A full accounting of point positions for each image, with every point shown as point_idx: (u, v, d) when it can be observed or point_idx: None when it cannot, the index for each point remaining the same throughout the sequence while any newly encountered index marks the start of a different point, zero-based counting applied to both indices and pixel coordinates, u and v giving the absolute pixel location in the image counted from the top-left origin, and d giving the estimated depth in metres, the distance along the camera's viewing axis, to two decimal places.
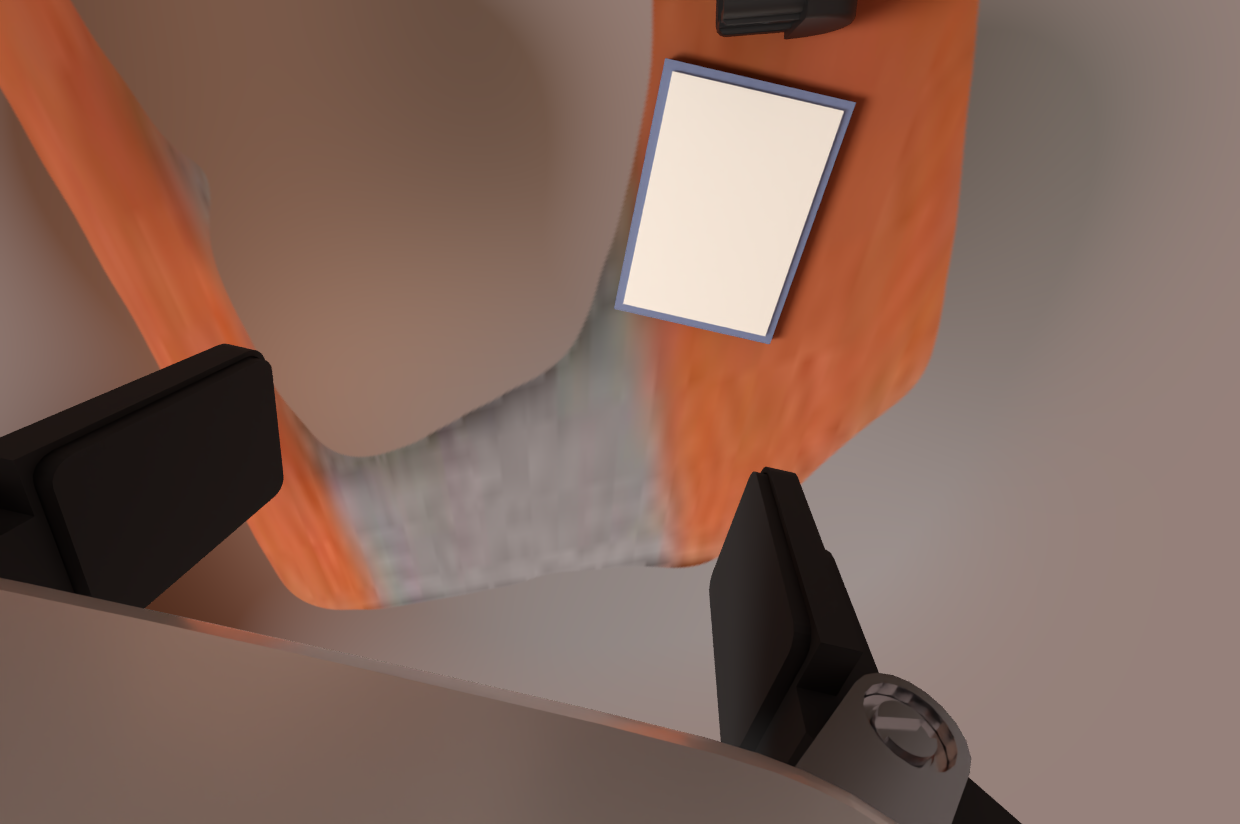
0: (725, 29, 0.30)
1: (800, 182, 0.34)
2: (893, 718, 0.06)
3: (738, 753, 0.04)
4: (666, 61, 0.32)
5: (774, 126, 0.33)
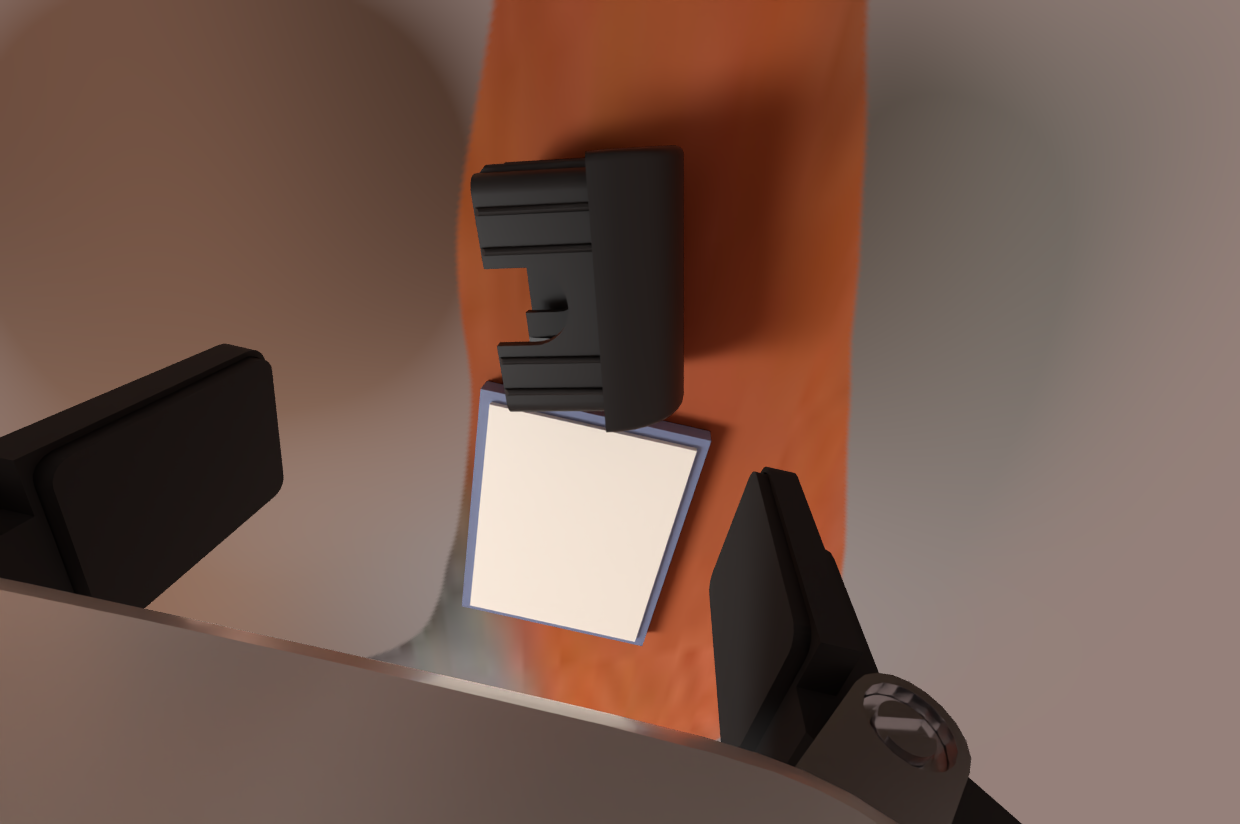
0: None
1: (655, 512, 0.29)
2: (893, 718, 0.06)
3: (738, 753, 0.04)
4: (482, 392, 0.27)
5: (617, 460, 0.27)
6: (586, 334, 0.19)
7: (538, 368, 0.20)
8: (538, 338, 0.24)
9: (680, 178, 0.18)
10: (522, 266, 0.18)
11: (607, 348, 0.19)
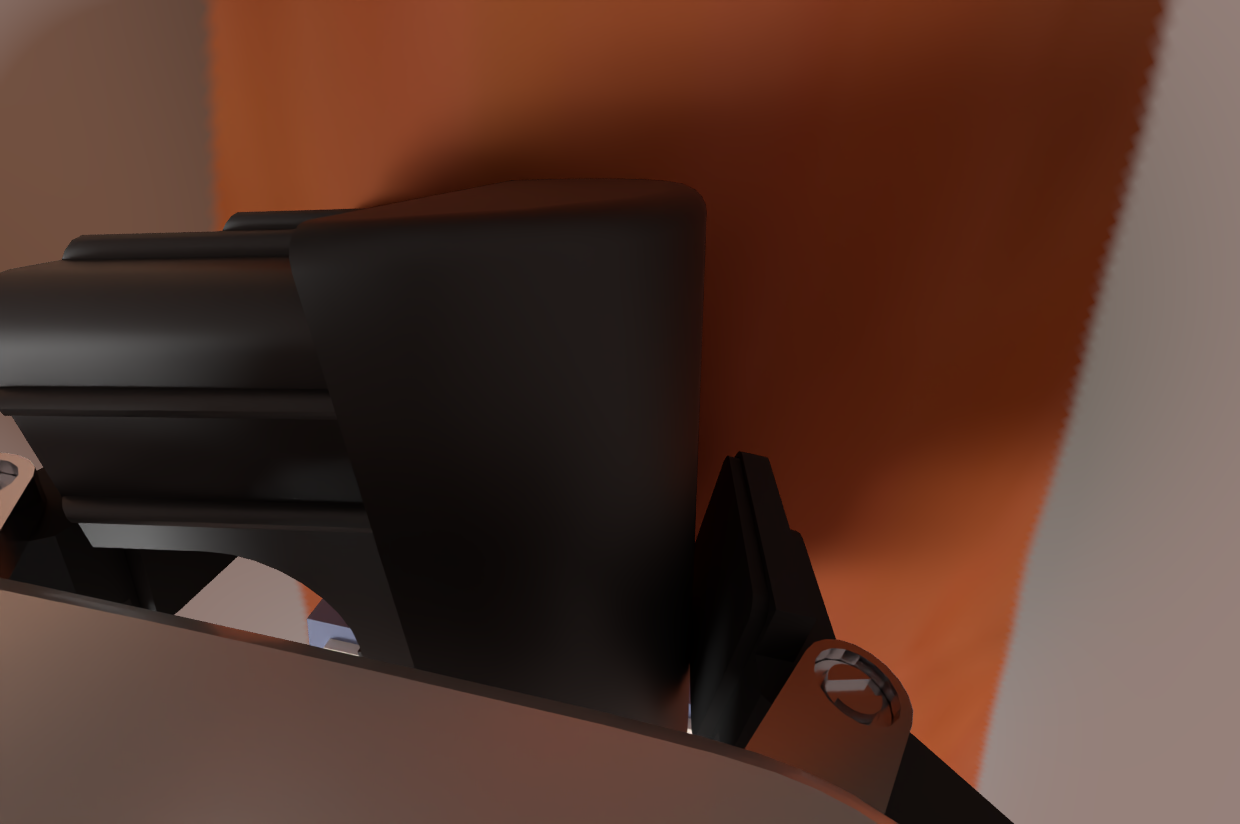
0: None
1: None
2: (841, 680, 0.06)
3: (738, 753, 0.04)
4: (311, 623, 0.14)
5: None
6: None
7: None
8: None
9: (696, 291, 0.06)
10: (202, 548, 0.06)
11: None
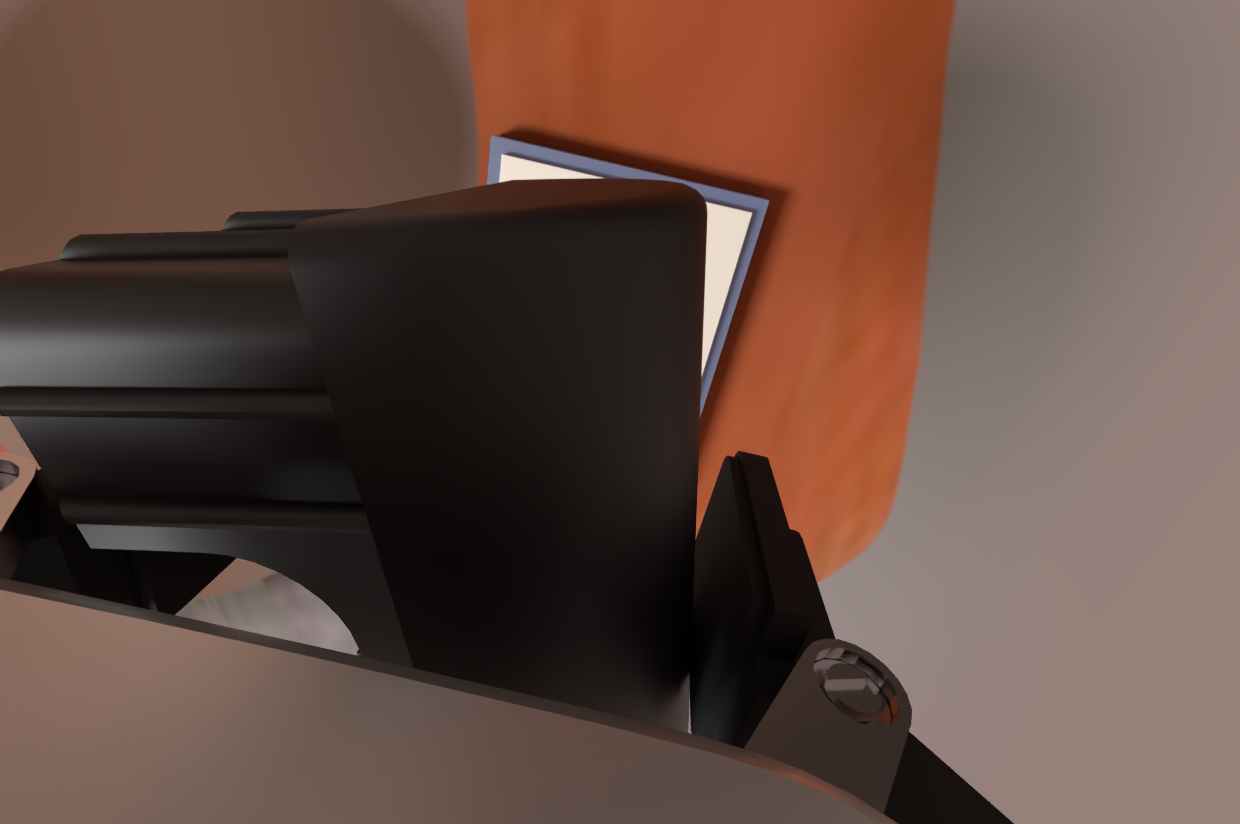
0: None
1: None
2: (841, 680, 0.06)
3: (738, 753, 0.04)
4: (493, 139, 0.22)
5: None
6: None
7: None
8: None
9: (697, 291, 0.06)
10: (201, 549, 0.06)
11: None
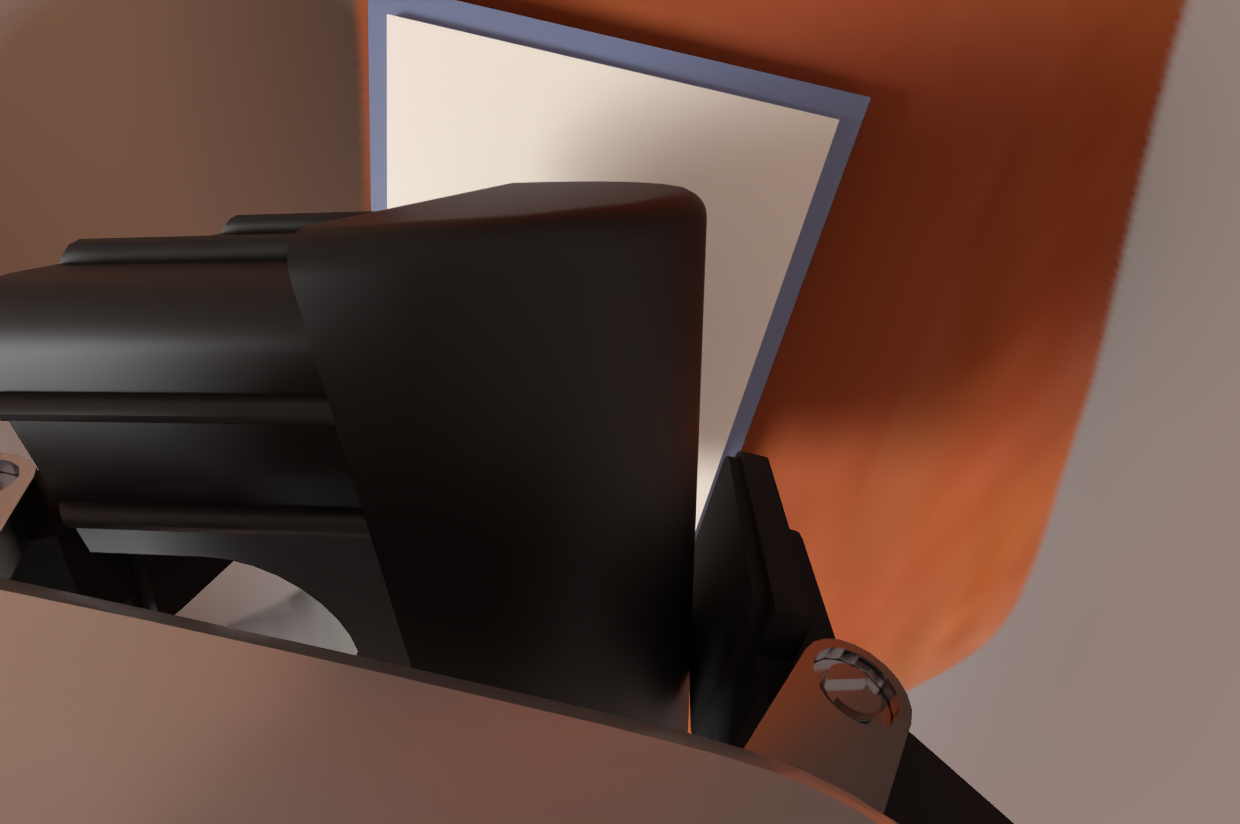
0: None
1: (735, 290, 0.14)
2: (841, 680, 0.06)
3: (738, 753, 0.04)
4: None
5: (662, 157, 0.13)
6: None
7: None
8: None
9: (697, 296, 0.06)
10: (201, 553, 0.06)
11: None
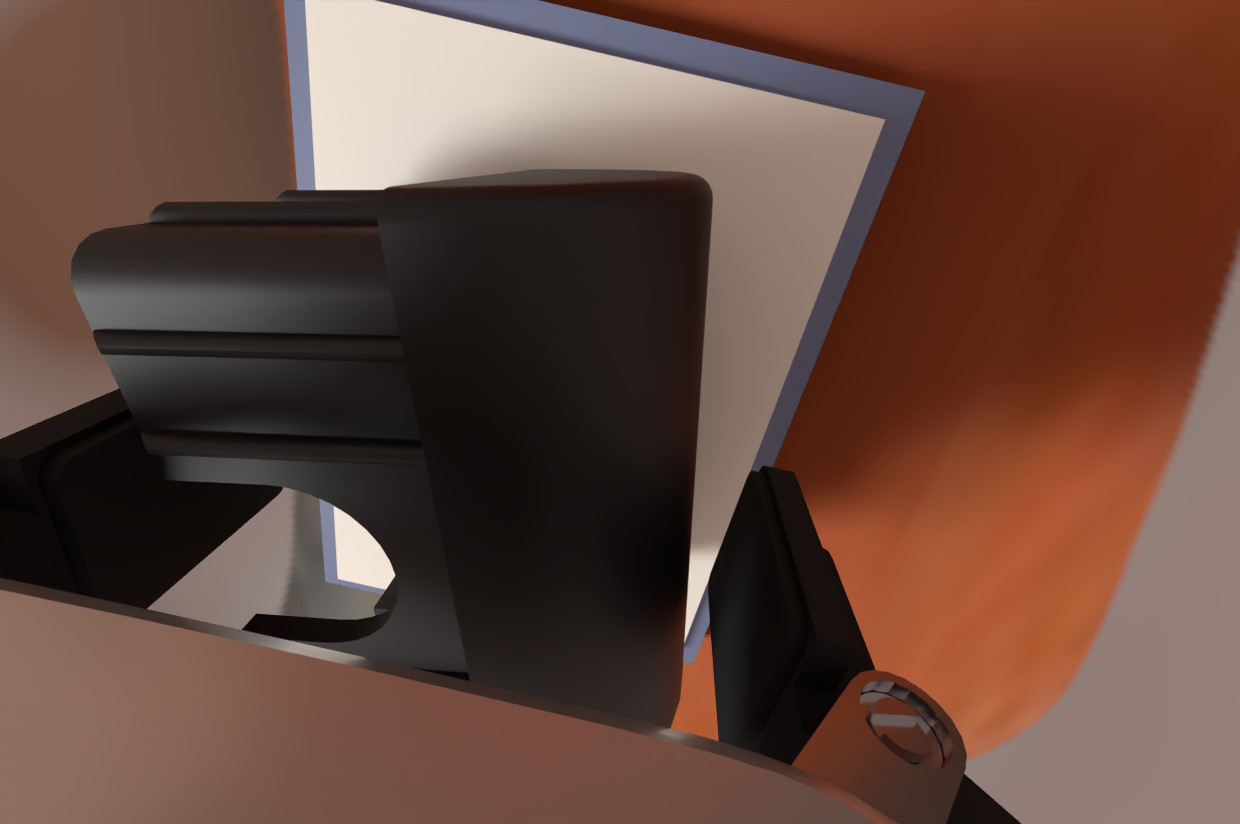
0: None
1: (749, 329, 0.12)
2: (889, 715, 0.06)
3: (738, 753, 0.04)
4: None
5: (659, 167, 0.10)
6: (448, 634, 0.08)
7: None
8: None
9: (703, 265, 0.07)
10: (262, 481, 0.07)
11: None
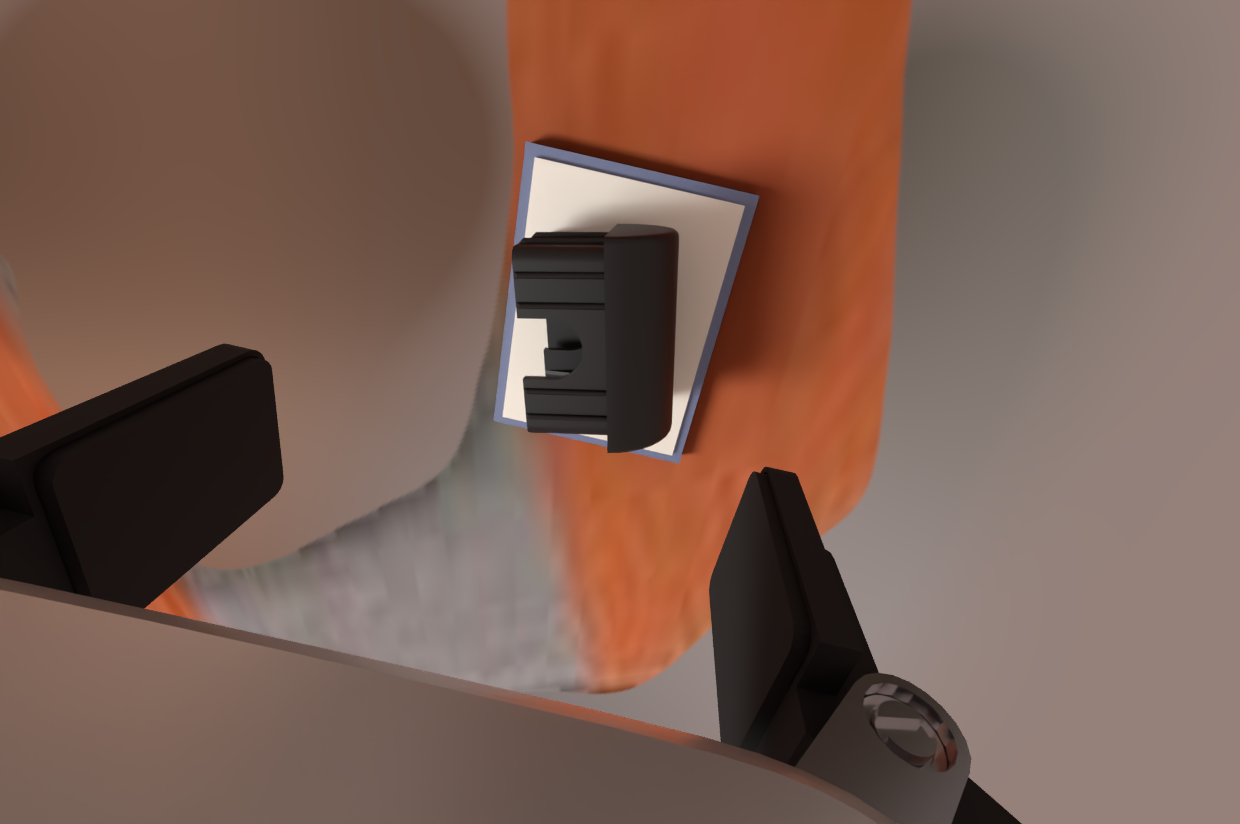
0: None
1: (699, 286, 0.28)
2: (893, 718, 0.06)
3: (738, 753, 0.04)
4: (527, 145, 0.26)
5: (662, 221, 0.27)
6: (595, 373, 0.24)
7: (555, 398, 0.25)
8: (552, 371, 0.29)
9: (676, 255, 0.23)
10: (548, 318, 0.23)
11: (613, 385, 0.24)
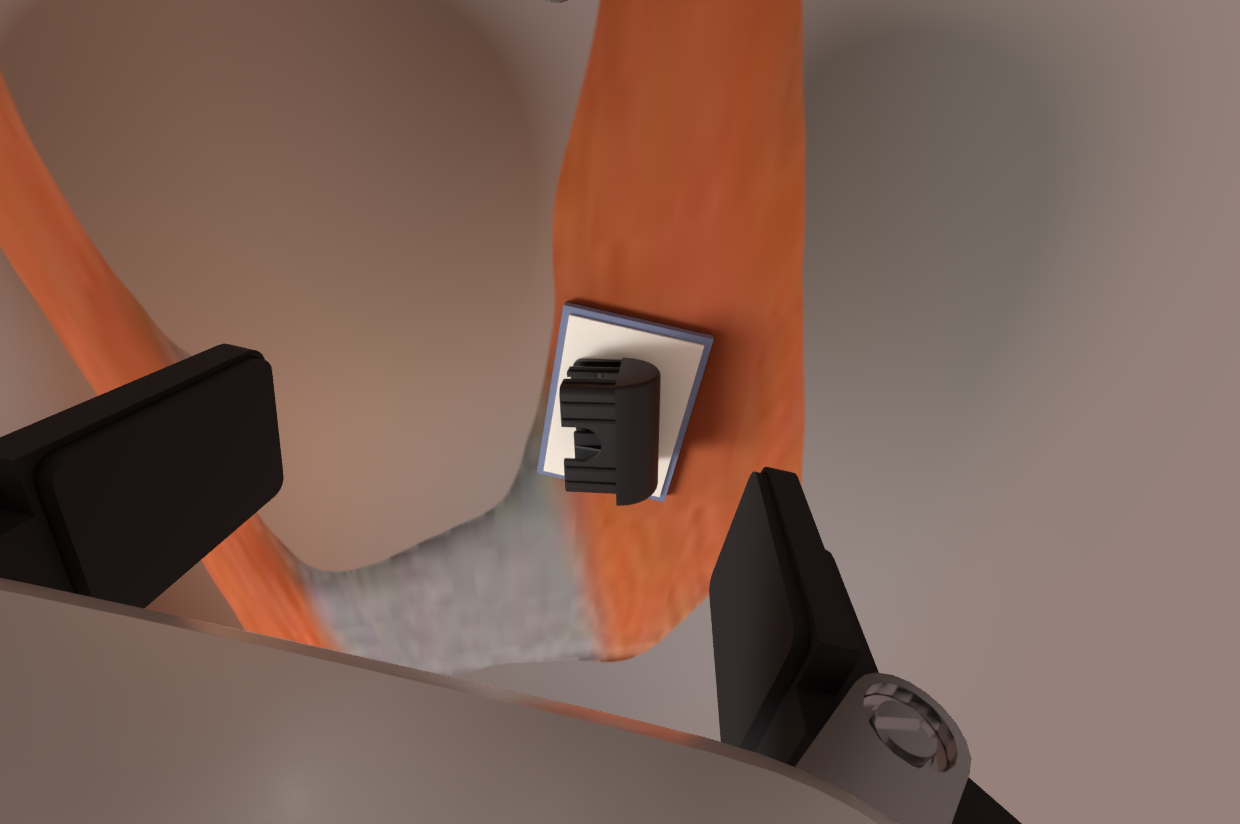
0: None
1: (675, 392, 0.43)
2: (893, 718, 0.06)
3: (738, 753, 0.04)
4: (564, 307, 0.41)
5: (651, 354, 0.42)
6: (609, 458, 0.39)
7: (583, 472, 0.40)
8: (579, 446, 0.44)
9: (658, 389, 0.38)
10: (580, 427, 0.38)
11: (620, 467, 0.39)
